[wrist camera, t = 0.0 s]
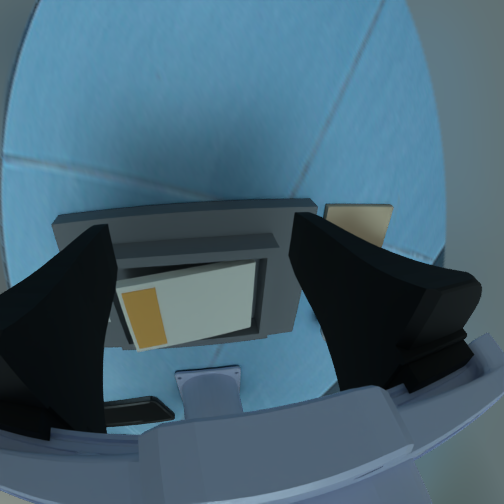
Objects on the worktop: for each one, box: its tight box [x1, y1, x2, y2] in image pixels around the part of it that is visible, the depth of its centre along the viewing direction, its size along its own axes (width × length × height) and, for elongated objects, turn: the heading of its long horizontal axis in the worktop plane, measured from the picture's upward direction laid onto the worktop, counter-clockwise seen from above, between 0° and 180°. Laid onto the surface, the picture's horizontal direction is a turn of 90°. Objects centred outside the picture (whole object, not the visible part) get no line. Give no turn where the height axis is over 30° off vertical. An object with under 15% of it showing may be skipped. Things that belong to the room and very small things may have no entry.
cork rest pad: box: [324, 204, 393, 247], centre depth 25 cm, size 7×7×1 cm
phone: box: [104, 396, 175, 427], centre depth 36 cm, size 8×1×15 cm
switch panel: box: [52, 199, 318, 350], centre depth 23 cm, size 14×20×4 cm
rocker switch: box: [116, 259, 256, 352], centre depth 21 cm, size 7×10×1 cm
